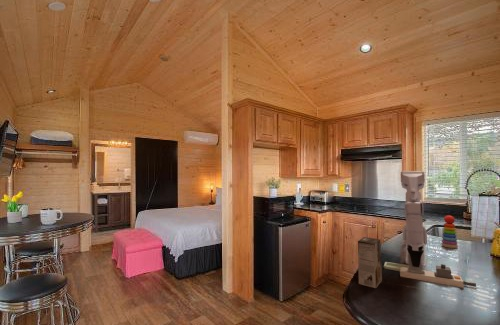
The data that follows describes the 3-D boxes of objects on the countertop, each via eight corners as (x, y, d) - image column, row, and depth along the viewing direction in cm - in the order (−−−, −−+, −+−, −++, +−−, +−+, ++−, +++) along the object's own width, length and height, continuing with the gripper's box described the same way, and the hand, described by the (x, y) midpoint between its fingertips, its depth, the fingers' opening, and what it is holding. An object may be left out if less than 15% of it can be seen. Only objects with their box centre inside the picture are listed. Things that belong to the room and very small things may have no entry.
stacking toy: (446, 248, 153) (444, 216, 154) (438, 244, 161) (437, 214, 162) (461, 248, 151) (459, 216, 153) (452, 245, 159) (451, 214, 161)
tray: (385, 264, 121) (385, 261, 121) (410, 268, 115) (410, 265, 115) (383, 269, 114) (383, 266, 114) (410, 273, 109) (410, 270, 109)
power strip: (400, 272, 110) (400, 265, 111) (474, 284, 98) (473, 276, 98) (400, 277, 105) (400, 269, 105) (478, 291, 92) (477, 282, 92)
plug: (409, 266, 108) (408, 251, 109) (421, 268, 106) (420, 253, 106) (408, 269, 104) (408, 254, 105) (421, 272, 102) (421, 255, 102)
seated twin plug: (436, 278, 103) (435, 262, 103) (450, 280, 101) (449, 264, 101) (437, 281, 99) (436, 265, 100) (451, 284, 97) (450, 267, 97)
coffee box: (365, 277, 104) (364, 236, 106) (382, 281, 100) (381, 239, 102) (357, 284, 97) (357, 240, 99) (376, 288, 93) (375, 243, 95)
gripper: (403, 227, 114) (404, 258, 113) (402, 232, 102) (403, 268, 101) (422, 229, 111) (424, 261, 110) (424, 234, 98) (425, 271, 97)
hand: (415, 265), depth 105 cm, fingers closed on plug, 4 cm apart
